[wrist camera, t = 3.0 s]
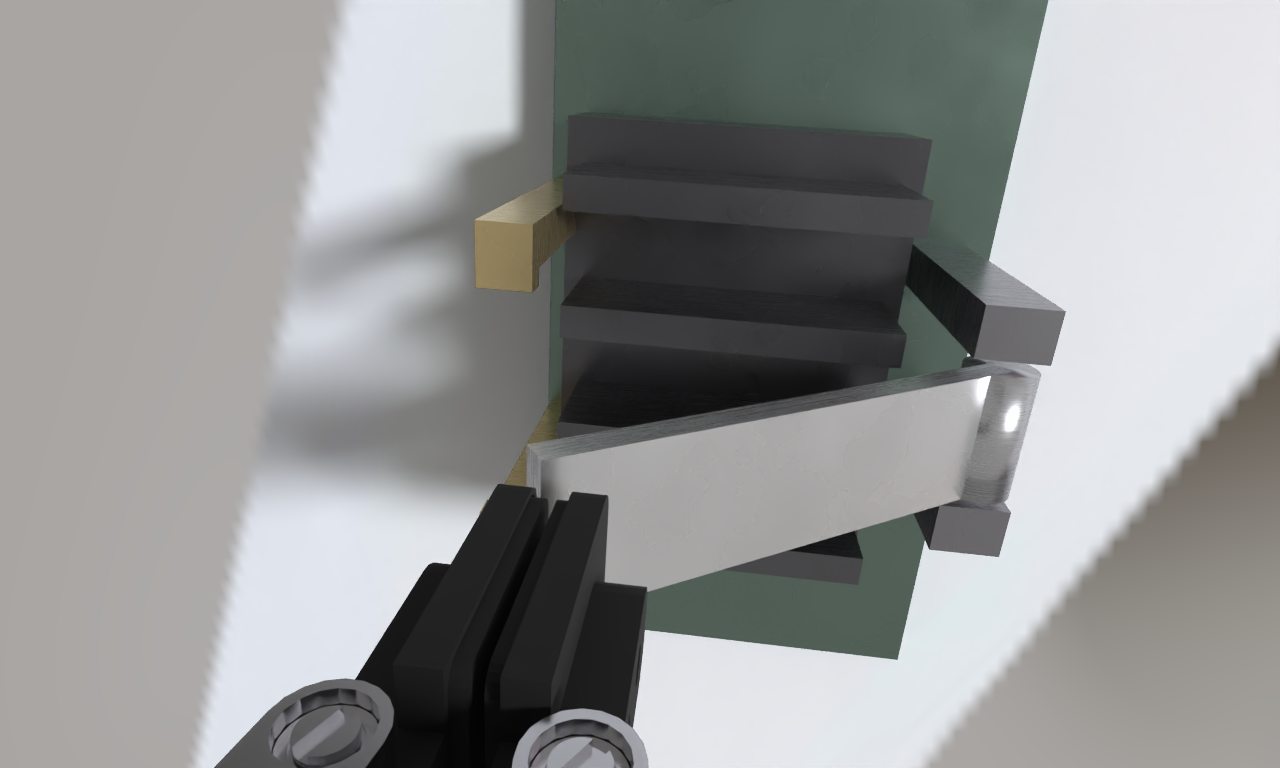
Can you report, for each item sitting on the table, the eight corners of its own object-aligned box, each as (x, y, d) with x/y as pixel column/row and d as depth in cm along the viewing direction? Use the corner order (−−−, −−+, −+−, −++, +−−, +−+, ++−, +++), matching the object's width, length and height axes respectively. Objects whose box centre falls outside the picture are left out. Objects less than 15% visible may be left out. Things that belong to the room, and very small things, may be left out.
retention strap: (515, 432, 12) (554, 475, 11) (993, 351, 18) (1056, 375, 17) (515, 586, 13) (550, 642, 12) (966, 466, 19) (1023, 496, 18)
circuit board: (567, -123, 21) (459, -267, 13) (1054, -101, 20) (1296, -242, 12) (551, 598, 30) (481, 802, 21) (890, 637, 29) (960, 868, 20)
